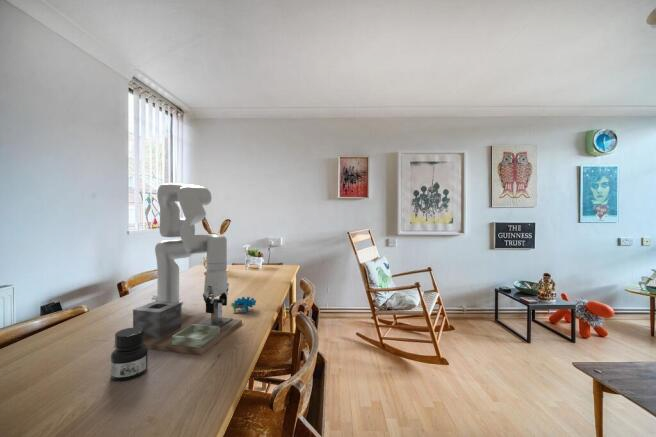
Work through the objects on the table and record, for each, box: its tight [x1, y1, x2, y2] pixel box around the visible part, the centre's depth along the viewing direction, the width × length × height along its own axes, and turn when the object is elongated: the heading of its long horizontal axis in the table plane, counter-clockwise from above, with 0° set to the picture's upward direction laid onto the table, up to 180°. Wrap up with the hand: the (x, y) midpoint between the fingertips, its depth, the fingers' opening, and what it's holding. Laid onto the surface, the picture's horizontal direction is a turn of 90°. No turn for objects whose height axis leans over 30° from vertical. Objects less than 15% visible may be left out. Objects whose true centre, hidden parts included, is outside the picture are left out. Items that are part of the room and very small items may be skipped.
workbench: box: [132, 300, 243, 356], centre depth 115 cm, size 33×28×11 cm
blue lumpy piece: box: [230, 296, 257, 314], centre depth 140 cm, size 11×6×10 cm
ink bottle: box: [110, 326, 149, 381], centre depth 87 cm, size 10×9×12 cm
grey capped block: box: [209, 297, 224, 323], centre depth 122 cm, size 6×3×9 cm, turn 79°
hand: (216, 308), depth 122 cm, fingers open, 9 cm apart
